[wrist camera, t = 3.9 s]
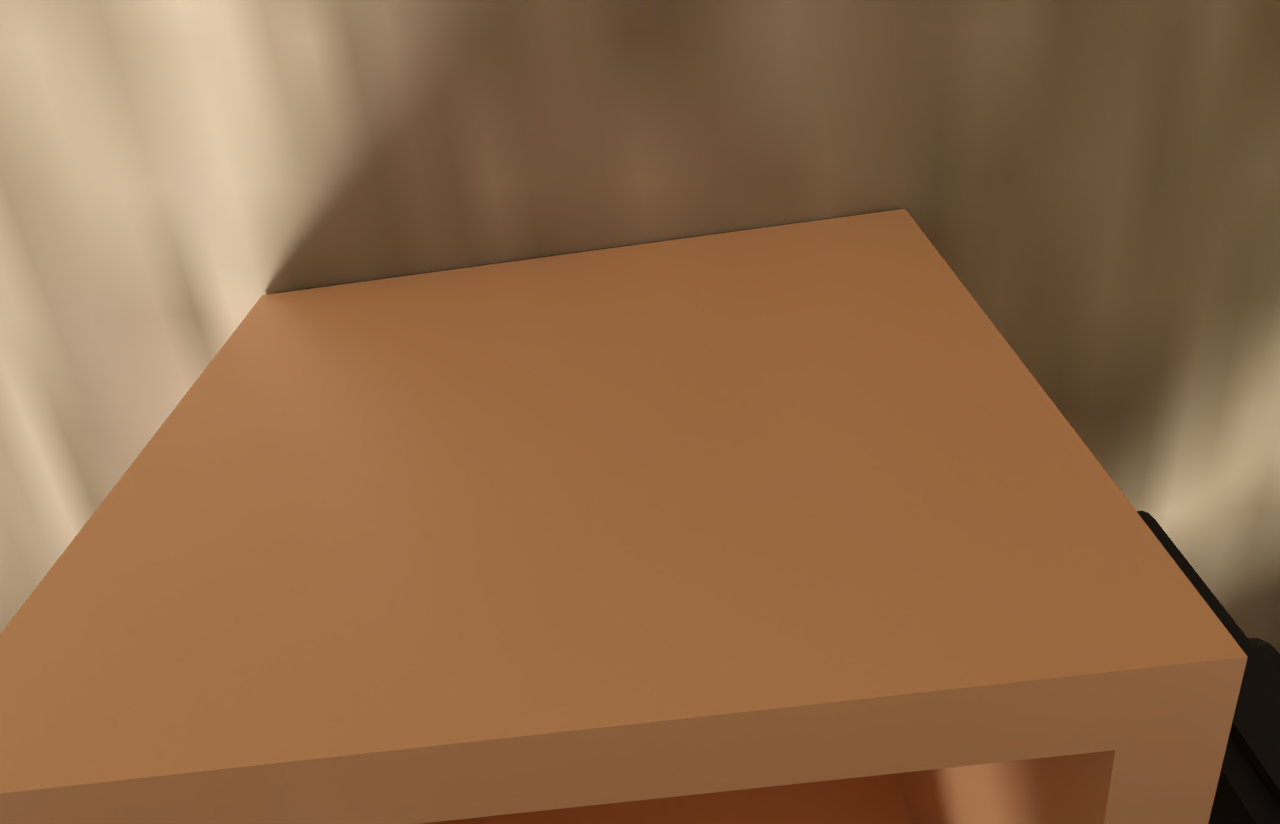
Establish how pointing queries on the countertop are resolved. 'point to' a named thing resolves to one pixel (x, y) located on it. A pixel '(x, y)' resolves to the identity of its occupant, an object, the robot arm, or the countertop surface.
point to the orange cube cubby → (620, 566)
